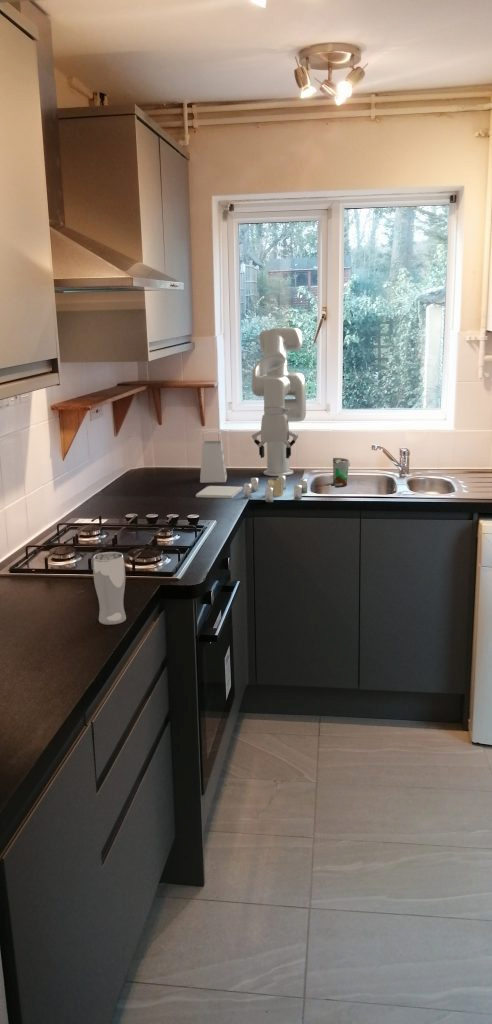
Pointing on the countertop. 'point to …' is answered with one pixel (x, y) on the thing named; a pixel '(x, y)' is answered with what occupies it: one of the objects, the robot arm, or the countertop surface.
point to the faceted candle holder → (276, 486)
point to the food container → (340, 472)
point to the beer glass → (110, 586)
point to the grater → (212, 461)
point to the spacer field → (269, 490)
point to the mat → (219, 492)
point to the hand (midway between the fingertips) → (275, 457)
